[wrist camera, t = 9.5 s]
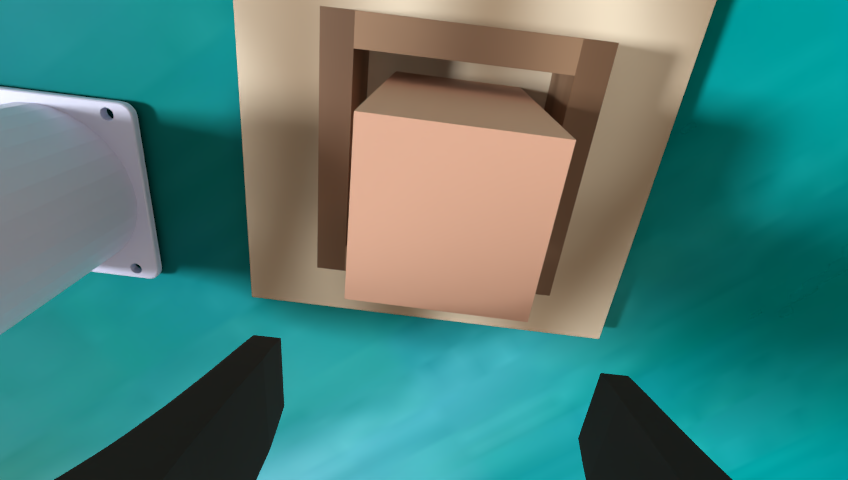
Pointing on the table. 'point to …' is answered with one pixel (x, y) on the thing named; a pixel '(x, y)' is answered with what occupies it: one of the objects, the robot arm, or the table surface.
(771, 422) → the table surface
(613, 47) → the socket board
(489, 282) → the square peg
